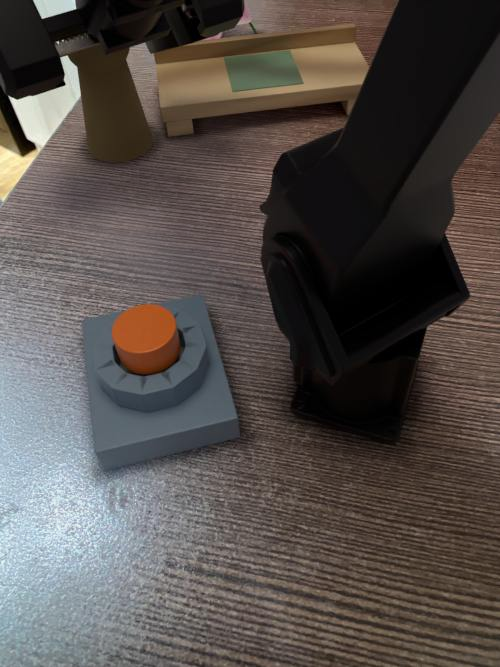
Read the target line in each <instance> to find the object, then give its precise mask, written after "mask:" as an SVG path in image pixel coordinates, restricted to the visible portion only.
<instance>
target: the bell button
mask: <svg viewBox="0 0 500 667" xmlns="http://www.w3.org/2000/svg"><path fill="white" fill-rule="evenodd" d="M153 304H154V303H146V304H139V305H135V306H133V307H130V308H128V309H126V311H125V310H124V311H125V312H123V313H122V314H121V315H120V316H119V317H118V318H117V319H116V321H115V322H114V325H113V328H112V338H113V341H114V344H115V347H116V350H117V353H118V356H119V359H120V361H121V363H122V365H123V366H124V367H125V368H126V369H128V370H129V371H131V372H133V373H136V374H141V375H151V374H156V373H159V372H162V371H164V370H166V369H167V368H169V367H170V366H171V365H172V364H173V363H174V362H175V361H176V360H177V358H178V356H179V354H180V350H181V344H180V339H179V334H178V329H177V324H176V320H175V318H174V316H173V315H172V313H171V312H170V311H169V310H167V309H166V308H164V307H161V306H158V305H153Z"/></svg>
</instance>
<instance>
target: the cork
mask: <svg viewBox="0 0 500 667" xmlns="http://www.w3.org/2000/svg"><path fill="white" fill-rule="evenodd" d="M89 33H90V32H89ZM84 35H85V36H86V33H84ZM78 36H79V37H80V35H78ZM73 38H74V39H75V36H74V37H73ZM80 38H81V37H80ZM68 40H69V41H70V38H68ZM62 41H63V42H64V40H62ZM64 43H65V42H64ZM130 48H131V47H130ZM130 48H127V49H123V50H120V51H117V52H114V53H111V54H108V55H105V53H104V51H103V49H102V47H101V45H99V46H96V47H92V48H89V49H86V50H83V51H80V52H76V53H73V54H70V55H67V57H68V59H69V61H70V62H71V63H72V64H73V65H74V66H75V67H76V70H77V77H78V83H79V84H78V85H79V93H80V98H81V106H82V114H83V120H84V121H83V122H84V128H85V134H86V135H85V136H86V144H87V150H88V153H89V154H90V156H91V157H92V158H94V159H96V160H98V161H100V162H104V163H124V162H130V161H133V160H136V159H138V158H140V157H141V156H143V155H145V154H146V153H147V152H149V150H150V149H151V148H152V147H153V142H154V138H153V135H152V132H151V130H150V126H149V123H148V120H147V117H146V113H145V111H144V107H143V105H142V102H141V99H140V97H139V93H138V90H137V87H136V84H135V81H134V78H133V76H132V72H131V69H130V66H129V64H128V61H127V58H128V56H129V53H130V50H131V49H130Z"/></svg>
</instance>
